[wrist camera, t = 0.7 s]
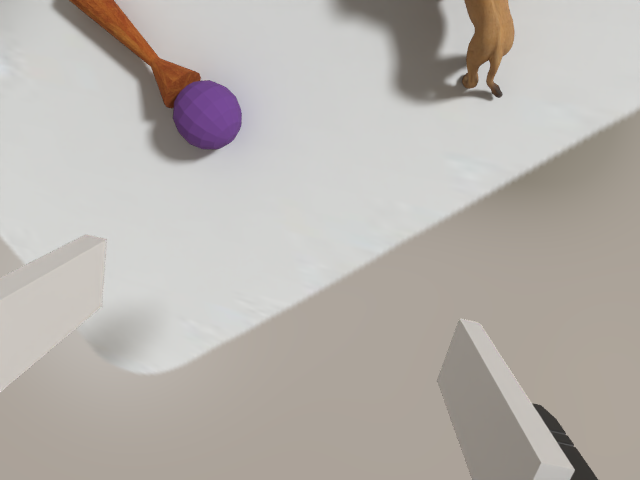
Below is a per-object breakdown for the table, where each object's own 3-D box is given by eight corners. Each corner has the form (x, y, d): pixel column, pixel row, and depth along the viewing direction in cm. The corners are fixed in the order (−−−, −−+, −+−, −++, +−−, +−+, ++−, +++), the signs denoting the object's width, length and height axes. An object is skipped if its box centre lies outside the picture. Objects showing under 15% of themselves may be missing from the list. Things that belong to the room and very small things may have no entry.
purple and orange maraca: (78, -65, 35) (247, 106, 35) (115, -23, 41) (260, 123, 41) (30, -12, 36) (197, 157, 36) (74, 21, 42) (217, 166, 42)
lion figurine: (406, -51, 36) (417, -111, 27) (466, -86, 35) (498, -160, 26) (471, 110, 38) (501, 102, 30) (529, 82, 37) (578, 65, 29)
